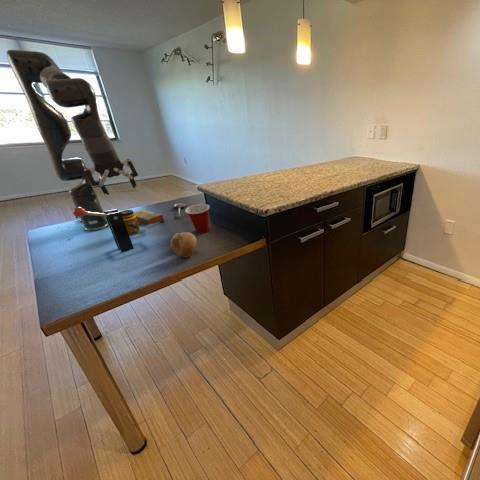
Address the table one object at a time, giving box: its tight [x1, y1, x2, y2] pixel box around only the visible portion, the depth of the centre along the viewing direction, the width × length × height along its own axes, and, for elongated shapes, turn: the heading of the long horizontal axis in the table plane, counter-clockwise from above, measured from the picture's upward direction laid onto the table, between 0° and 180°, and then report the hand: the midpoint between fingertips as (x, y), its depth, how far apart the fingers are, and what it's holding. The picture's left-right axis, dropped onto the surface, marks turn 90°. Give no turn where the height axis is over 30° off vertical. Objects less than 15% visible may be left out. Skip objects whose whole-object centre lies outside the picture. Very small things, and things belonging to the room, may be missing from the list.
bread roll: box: [170, 231, 198, 258], centre depth 108 cm, size 10×15×8 cm, turn 25°
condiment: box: [120, 209, 142, 236], centre depth 119 cm, size 7×8×12 cm
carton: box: [133, 209, 165, 226], centre depth 136 cm, size 8×16×4 cm, turn 64°
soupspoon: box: [174, 202, 187, 219], centre depth 150 cm, size 22×3×7 cm
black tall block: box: [103, 208, 135, 253], centre depth 105 cm, size 12×9×18 cm
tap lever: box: [72, 207, 113, 218], centre depth 98 cm, size 13×4×4 cm, turn 140°
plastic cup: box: [184, 203, 210, 234], centre depth 125 cm, size 11×11×12 cm
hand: (121, 190), depth 98 cm, fingers open, 8 cm apart
